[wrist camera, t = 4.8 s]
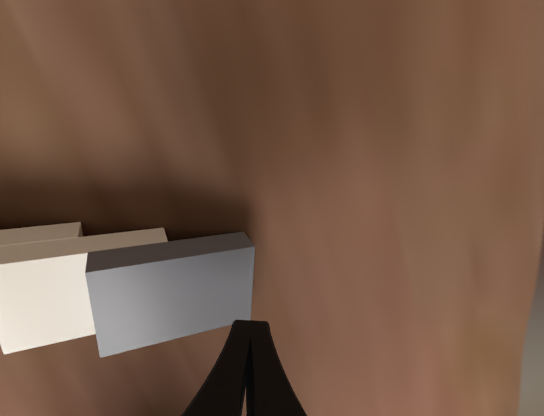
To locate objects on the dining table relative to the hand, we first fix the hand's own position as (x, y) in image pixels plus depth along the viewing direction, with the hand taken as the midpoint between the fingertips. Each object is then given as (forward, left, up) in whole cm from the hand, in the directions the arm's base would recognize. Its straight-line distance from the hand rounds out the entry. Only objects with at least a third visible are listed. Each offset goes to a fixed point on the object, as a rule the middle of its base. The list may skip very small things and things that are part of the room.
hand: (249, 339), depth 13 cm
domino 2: (-2, +4, -4) cm, 6 cm away
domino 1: (0, 0, -4) cm, 4 cm away
